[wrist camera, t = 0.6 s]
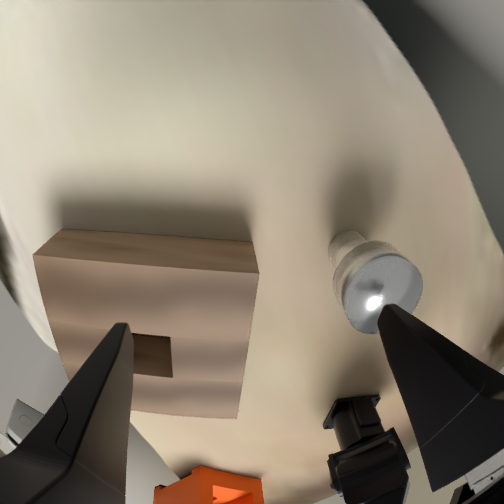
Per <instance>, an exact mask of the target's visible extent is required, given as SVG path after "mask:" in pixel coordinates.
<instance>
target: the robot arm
mask: <svg viewBox="0 0 504 504" xmlns="http://www.w3.org/2000/svg"><path fill="white" fill-rule="evenodd" d="M377 326H378V329H379V333H380V336H381V339H382V343H383V346H384V350H385V353H386V356H387V360H388V362H389V365H390V367H391V370H392V373H393V375H394V378H395V380H396V383H397V386H398V388H399V391H400V394H401V396H402V399H403V402H404V405H405V407H406V410H407V413H408V416H409V419H410V422H411V425H412V427H413V430H414V433H415V436H416V439H417V443H418V446H419V448H420V452H421V456H422V459H423V462H424V465H425V469H426V472H427V476H428V479H429V483H430V486H431V490H432V492H434V491H437V490H438V489H440V488H442V487H444V486H446V485H448V484H450V483H451V482H453V481H455V480H457V479H458V478H460V477H462V476H463V475H465V477H466V480H467V482H466V483H464V484H463V485H461V486H460V487H458V488H456V489H455V491H454V493H453V496H452V499H451V502H450V504H504V375H502V374H501V373H499V372H498V371H496V370H494V369H493V368H491V367H489V366H488V365H486V364H484V363H483V362H481V361H479V360H478V359H476V358H475V357H473V356H472V355H470V354H469V353H468V352H466V351H465V350H463V349H462V348H460V347H459V346H457V345H456V344H454V343H453V342H452V341H450V340H449V339H447V338H446V337H444V336H443V335H441V334H440V333H438V332H437V331H435V330H434V329H432V328H431V327H429V326H428V325H426V324H425V323H423V322H422V321H420V320H419V319H417V318H416V317H414V316H413V315H411V314H410V313H408V312H407V311H405V310H404V309H402V308H401V307H399V306H398V305H396V304H394V303H392V304H386V305H384V306H383V308H382V311H381V313H380V315H379V318H378V321H377ZM133 364H134V341H133V337H132V333H131V330H130V327H129V324H128V323H126V322H117V323H115V324H114V325H113V327H112V328H111V329H110V330H109V332H108V333H107V334H106V335H105V337H104V338H103V339H102V340H101V342H100V343H99V344H98V345H97V347H96V348H95V349H94V350H93V352H92V353H91V354H90V356H89V357H88V358H87V359H86V361H85V362H84V363H83V365H82V366H81V367H80V369H79V370H78V371H77V372H76V374H75V375H74V376H73V378H72V379H71V380H70V382H69V383H68V385H67V386H66V387H65V388H64V390H63V391H62V393H61V395H59V396H58V398H57V399H56V401H55V402H54V403H53V405H52V406H51V407H50V409H49V410H48V411H47V413H46V414H45V415H44V416H43V417H42V418H41V420H40V421H39V422H38V423H37V424H36V426H35V427H34V428H33V429H32V430H31V431H30V432H29V433H28V435H27V436H26V437H25V438H24V439H23V440H22V441H21V442H20V444H19V445H18V446H17V447H16V448H15V449H14V450H13V451H11V452H10V453H9V454H7V455H5V456H3V457H0V504H125V486H126V463H127V446H128V433H129V422H130V411H131V402H132V393H133ZM380 399H381V398H380V395H373V396H365V397H357V398H348V399H339V400H337V401H336V402H335V404H334V406H333V408H332V409H331V411H330V413H329V415H328V417H327V419H326V421H325V423H324V425H323V428H324V429H332V428H334V430H335V433H336V437H337V440H338V443H339V446H340V449H341V451H339V452H337V453H334V454H333V453H332V454H330V455H329V460H328V461H327V462H328V466H329V470H330V486H331V488H332V489H334V490H336V492H337V493H338V495H339V496H340V497H343V496H344V500H345V503H346V504H405V502H406V498H407V494H408V490H409V486H410V483H409V477H408V474H407V471H406V470H408V469H410V468H411V466H410V463H409V460H408V457H407V455H406V452H405V450H404V448H403V446H402V444H401V441H400V439H399V437H398V435H397V433H396V431H395V429H394V427H392V428H390V430H388V431H386V432H385V431H384V429H383V426H382V424H381V419H380V417H379V415H378V412H377V410H376V408H375V407H376V405H377V404H378V402H379V400H380Z"/></svg>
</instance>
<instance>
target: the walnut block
mask: <svg viewBox="0 0 504 504" xmlns="http://www.w3.org/2000/svg"><path fill="white" fill-rule="evenodd" d="M33 260H34V265H35V270H36V274H37V279H38V283H39V288H40V292H41V296H42V300H43V303H44V307H45V311H46V314H47V318H48V321H49V325H50V328H51V331H52V334H53V337H54V340H55V343H56V346H57V349H58V352H59V355H60V357H61V360H62V363H63V366H64V368H65V371H66V373H67V376H68V378H69V381H70V380H71V379H72V378H73V376H74V375H75V374H76V372H77V371H78V370H79V369H80V367H81V366H82V365H83V363H84V362H85V361H86V359H87V358H88V357H89V356H90V354H91V353H92V352H93V350H94V349H95V348H96V347H97V345H98V344H99V343H100V342H101V340H102V339H103V338H104V337H105V335H106V334H107V333H108V332H109V330H110V329H111V328H112V327H113V325H114V324H115V323H117V322H126V323H128V324H129V327H130V330H131V333H139V334H148V335H157V336H168V337H171V338H163V337H153V336H144V335H135V334H132V337H133V341H134V364H133V393H132V402H131V410H134V411H141V412H149V413H157V414H166V415H176V416H187V417H202V418H223V419H237V414H238V408H239V402H240V396H241V390H242V383H243V377H244V371H245V364H246V358H247V351H248V345H249V338H250V332H251V325H252V319H253V312H254V306H255V299H256V292H257V286H258V279H259V270H258V265H257V260H256V256H255V251H254V246H253V242H245V241H232V240H218V239H205V238H191V237H177V236H163V235H149V234H134V233H120V232H104V231H89V230H73V229H61V230H60V231H59V232H58V233H56V234H55V235H54V236H53V237H52V238H51V239H50V240H48V241H47V242H46V243H45V244H44V245H43V246H42V247H41V248H39V249H38V250H37V251H36V252H35V253H34V254H33Z"/></svg>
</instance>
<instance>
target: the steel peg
mask: <svg viewBox="0 0 504 504" xmlns="http://www.w3.org/2000/svg"><path fill="white" fill-rule="evenodd" d="M328 254H329V258H330V260H331V262H332V264H333V265H334V267H335V268H336V271H335V274H334V278H333V290H334V293H335V296H336V298H337V299H338V301H339V303H340V305H341V307H342V309H343V310H344V312H345V314H346V316H347V318H348V320H349V321H350V323H351V325H352V326H353V327H354V328H355V329H357V330H358V331H360V332H363V333H367V334H378V333H379V329H378V326H377V321H378V318H379V315H380V313H381V311H382V308H383V306H384V305H386V304H392V303H394V304H396V305H398V306H399V307H401V308H402V309H404V310H405V311H407V312H408V313H410V314H411V313H412V312H413V311H414V309H415V308H416V306H417V304H418V302H419V300H420V297H421V294H422V289H423V281H422V276H421V274H420V272H419V270H418V269H417V268H416V267H415V266H414V265H413V264H412V263H411V262H410V261H409V260H408V259H407V258H406V257H405V256H404V255H403V254H402V253H400V252H399V251H398V250H397V249H396V248H395V247H394V246H392V245H391V244H389V243H387V242H384V241H369V242H368V241H367V240H366V239H365V238H364V237H363V236H362V235H361V234H359V233H358V232H355V231H345V232H342V233H340V234H339V235H337V236H336V237H335V238H334V239H333V240H332V242H331V244H330V246H329V250H328Z"/></svg>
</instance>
